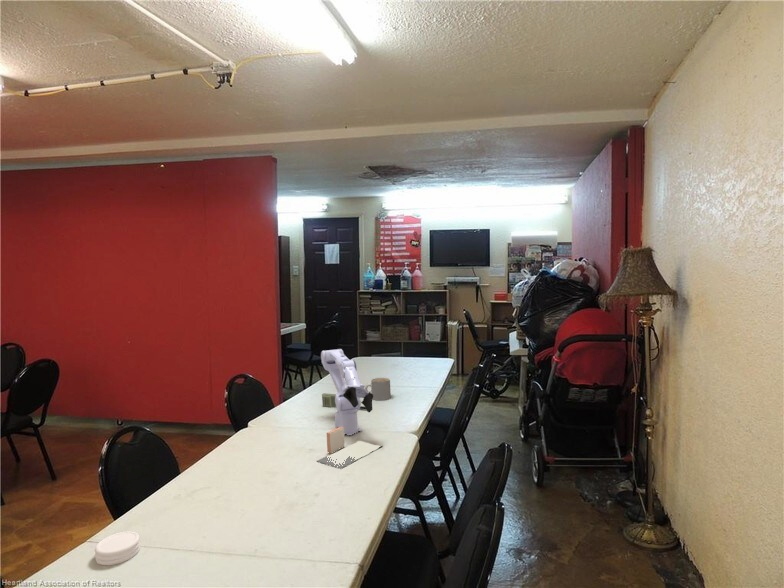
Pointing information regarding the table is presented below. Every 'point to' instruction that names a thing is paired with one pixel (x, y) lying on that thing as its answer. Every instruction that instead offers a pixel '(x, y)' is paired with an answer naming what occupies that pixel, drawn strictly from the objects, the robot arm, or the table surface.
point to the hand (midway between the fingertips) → (363, 408)
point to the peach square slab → (335, 439)
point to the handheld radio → (331, 400)
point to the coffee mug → (380, 388)
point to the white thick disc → (117, 548)
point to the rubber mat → (325, 459)
